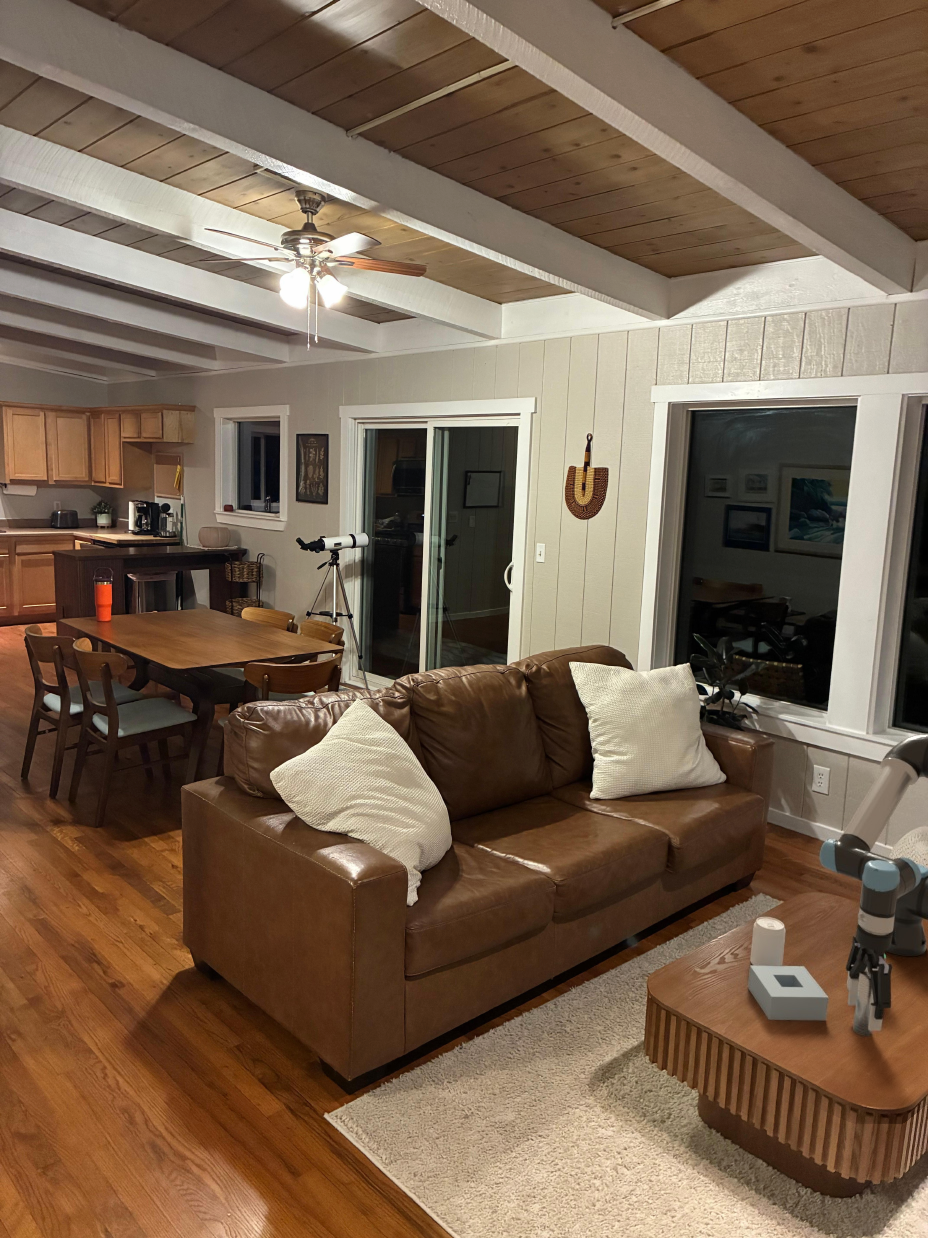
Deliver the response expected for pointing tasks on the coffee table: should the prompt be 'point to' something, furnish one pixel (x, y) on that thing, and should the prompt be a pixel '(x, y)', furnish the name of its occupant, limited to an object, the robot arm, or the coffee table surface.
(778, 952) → the beverage can
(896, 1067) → the coffee table surface
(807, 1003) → the socket block
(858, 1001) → the peg
